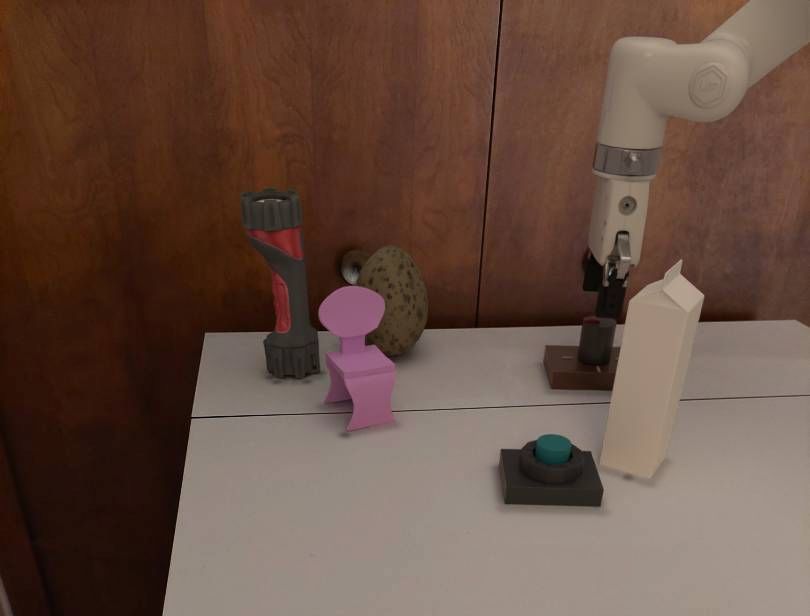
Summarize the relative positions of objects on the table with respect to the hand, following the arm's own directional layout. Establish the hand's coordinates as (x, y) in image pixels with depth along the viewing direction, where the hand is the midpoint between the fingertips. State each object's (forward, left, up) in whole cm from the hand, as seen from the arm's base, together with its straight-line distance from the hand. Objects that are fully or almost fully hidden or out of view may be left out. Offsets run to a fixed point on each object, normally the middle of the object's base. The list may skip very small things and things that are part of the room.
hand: (600, 303), depth 104 cm
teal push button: (+9, +29, -7) cm, 31 cm away
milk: (-1, +23, -10) cm, 25 cm away
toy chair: (+31, +13, -10) cm, 35 cm away
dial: (0, 0, -8) cm, 8 cm away
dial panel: (0, 0, -10) cm, 10 cm away
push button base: (+9, +29, -10) cm, 32 cm away
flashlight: (+42, +1, -10) cm, 43 cm away
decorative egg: (+28, -6, -10) cm, 30 cm away
